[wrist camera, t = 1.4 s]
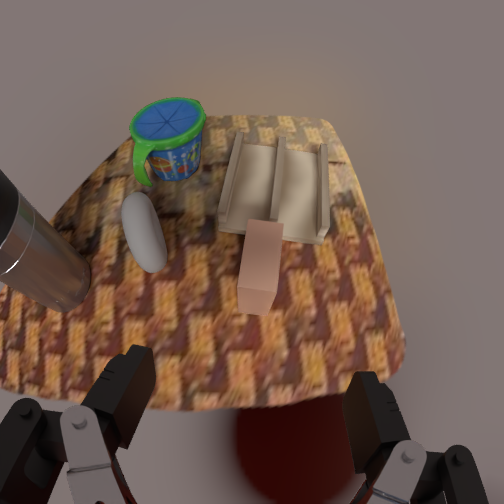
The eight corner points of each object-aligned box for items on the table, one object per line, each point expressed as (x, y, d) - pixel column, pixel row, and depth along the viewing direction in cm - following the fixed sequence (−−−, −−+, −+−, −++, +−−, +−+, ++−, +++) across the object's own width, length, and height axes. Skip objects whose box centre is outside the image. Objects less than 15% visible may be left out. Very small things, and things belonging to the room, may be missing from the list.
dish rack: (218, 231, 39) (216, 214, 35) (237, 148, 45) (237, 129, 42) (321, 245, 38) (329, 230, 34) (321, 159, 45) (327, 142, 41)
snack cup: (182, 128, 47) (173, 82, 38) (230, 146, 46) (229, 97, 36) (123, 187, 42) (101, 143, 32) (172, 214, 40) (156, 167, 30)
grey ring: (138, 223, 39) (114, 180, 30) (160, 216, 39) (141, 171, 30) (151, 287, 35) (123, 255, 26) (176, 279, 36) (155, 244, 27)
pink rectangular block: (238, 312, 34) (237, 286, 25) (246, 259, 37) (248, 218, 28) (267, 316, 34) (276, 292, 25) (273, 263, 37) (283, 223, 28)
